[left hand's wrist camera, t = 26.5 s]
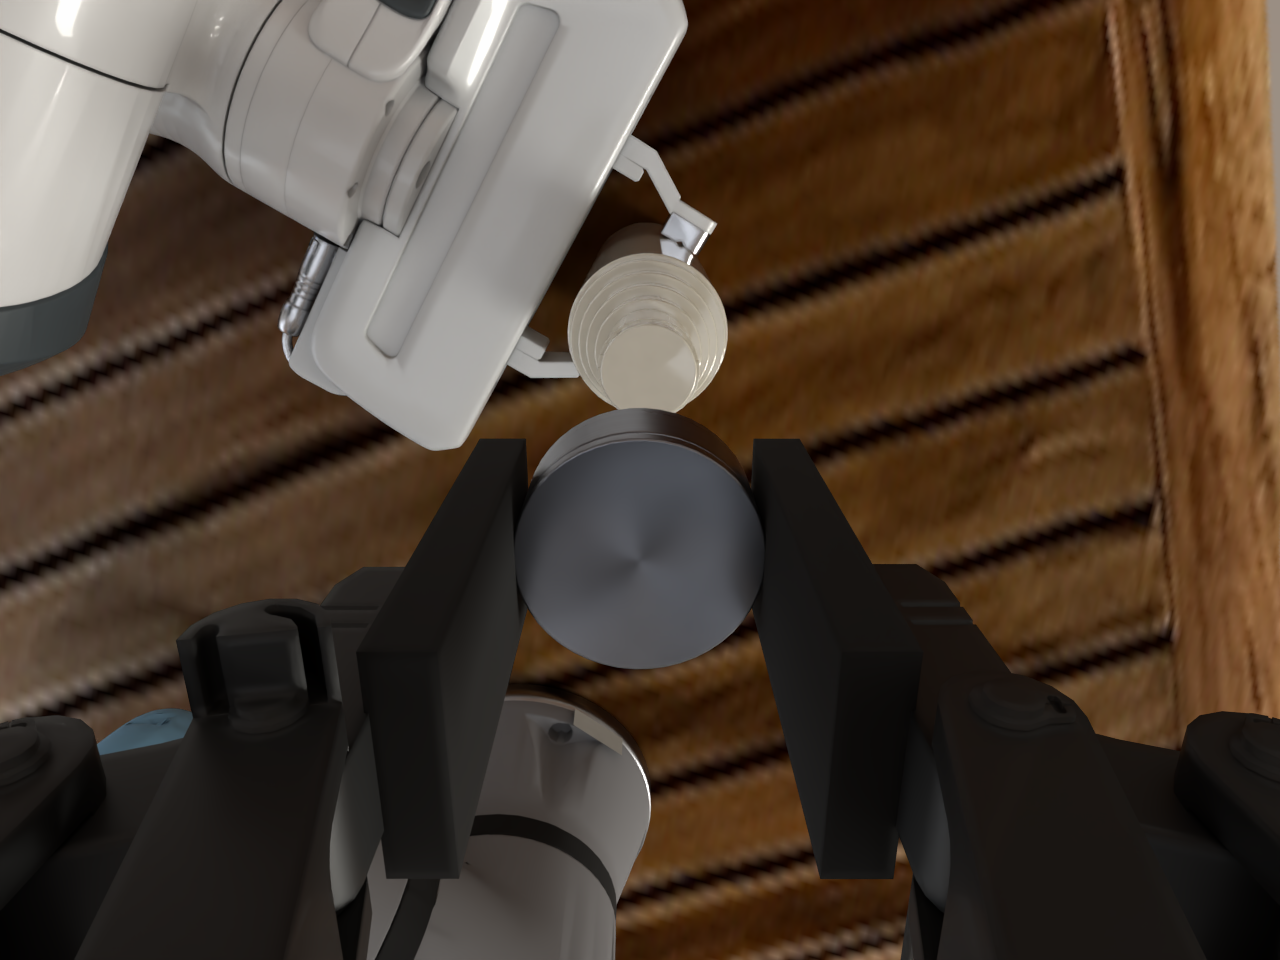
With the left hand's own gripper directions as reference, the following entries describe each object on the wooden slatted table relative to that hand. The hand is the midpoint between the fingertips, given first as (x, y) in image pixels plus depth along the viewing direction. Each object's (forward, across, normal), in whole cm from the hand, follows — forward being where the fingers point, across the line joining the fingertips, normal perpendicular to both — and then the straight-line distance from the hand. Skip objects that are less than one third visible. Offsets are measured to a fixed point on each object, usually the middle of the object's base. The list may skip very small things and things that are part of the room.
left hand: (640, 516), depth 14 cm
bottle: (+29, 0, 0) cm, 29 cm away
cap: (-1, 0, 0) cm, 1 cm away
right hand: (+23, -1, 0) cm, 23 cm away
